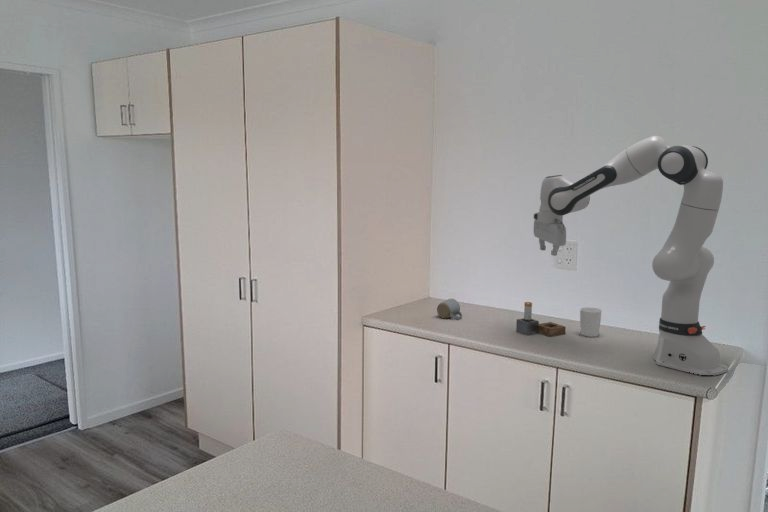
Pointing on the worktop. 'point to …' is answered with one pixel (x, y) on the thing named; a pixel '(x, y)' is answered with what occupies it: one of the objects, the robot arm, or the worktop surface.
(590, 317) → the white cup
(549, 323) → the block
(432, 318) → the worktop surface
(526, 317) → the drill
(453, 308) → the ceramic mug
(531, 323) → the socket block
